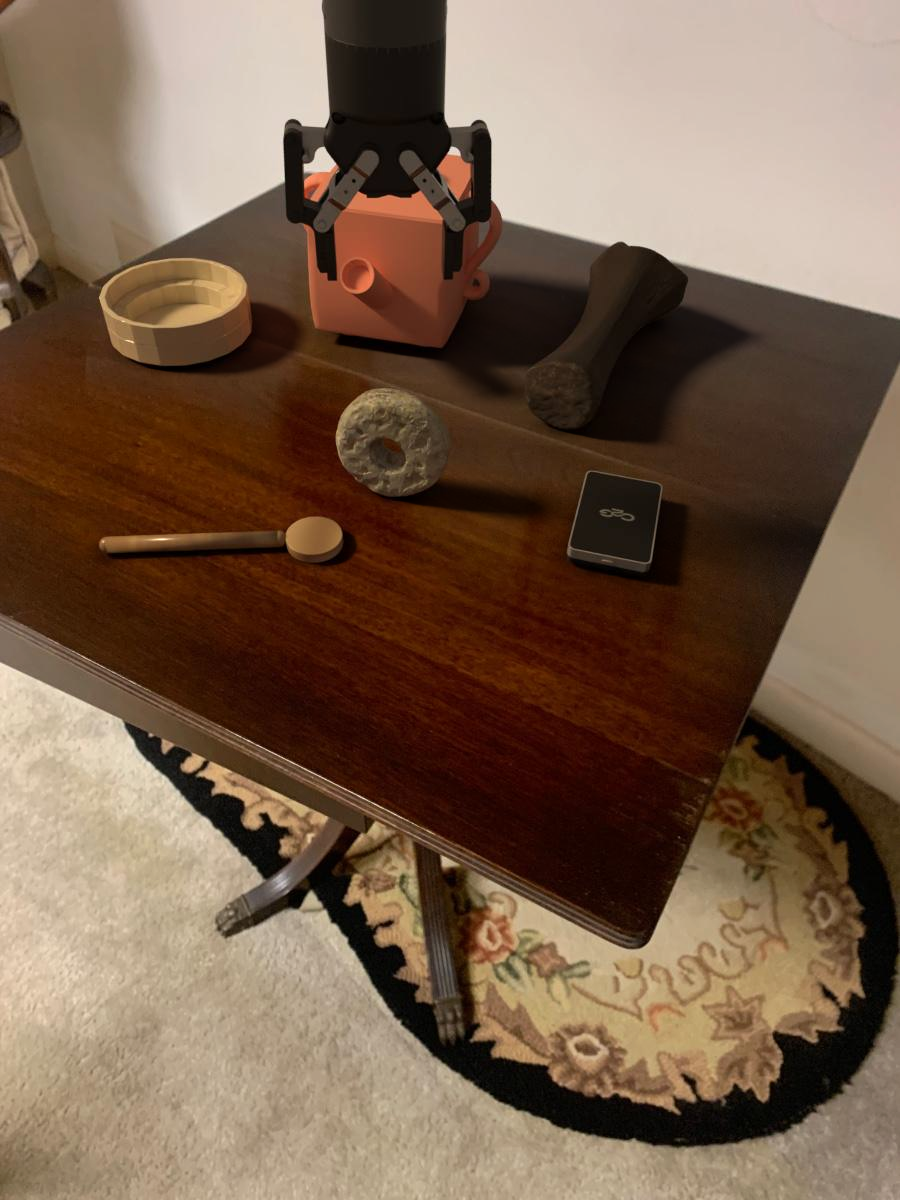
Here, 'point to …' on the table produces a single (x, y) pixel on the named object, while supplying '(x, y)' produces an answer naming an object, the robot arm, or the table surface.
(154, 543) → the spoon
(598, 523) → the external hard drive
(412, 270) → the teapot
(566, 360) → the dark brown bone
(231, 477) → the table surface
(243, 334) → the bowl
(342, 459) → the stone ring
